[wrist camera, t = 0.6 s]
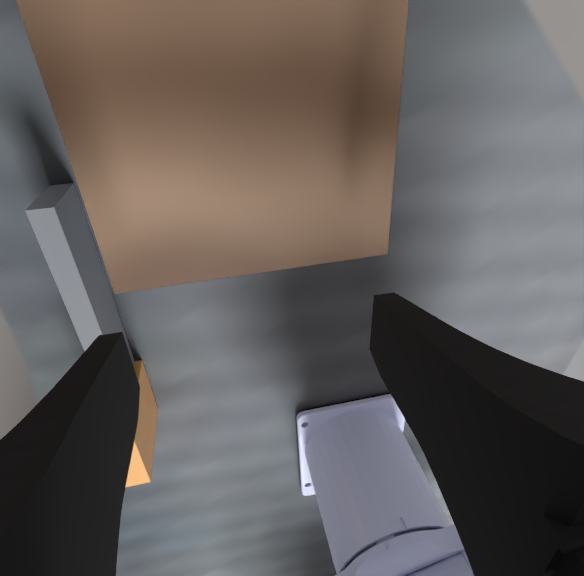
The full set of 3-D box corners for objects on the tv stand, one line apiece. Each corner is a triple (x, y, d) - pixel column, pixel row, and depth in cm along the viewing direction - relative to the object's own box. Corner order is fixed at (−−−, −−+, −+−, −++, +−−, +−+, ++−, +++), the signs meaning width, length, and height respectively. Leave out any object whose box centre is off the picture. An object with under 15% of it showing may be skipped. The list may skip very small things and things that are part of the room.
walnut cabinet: (340, 201, 21) (387, 254, 16) (135, 226, 19) (114, 293, 14) (344, -92, 15) (422, -157, 10) (48, -87, 13) (-38, -160, 8)
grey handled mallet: (157, 408, 25) (150, 481, 21) (127, 414, 25) (114, 489, 21) (83, 181, 18) (49, 227, 14) (39, 186, 17) (-10, 233, 13)
